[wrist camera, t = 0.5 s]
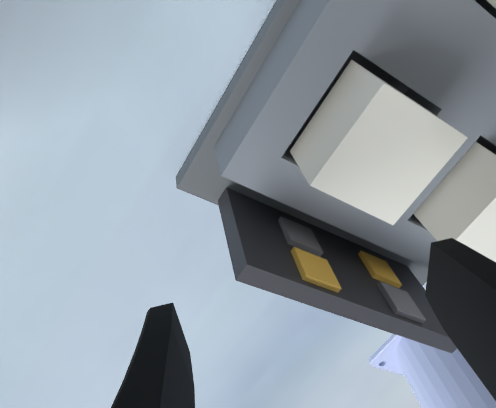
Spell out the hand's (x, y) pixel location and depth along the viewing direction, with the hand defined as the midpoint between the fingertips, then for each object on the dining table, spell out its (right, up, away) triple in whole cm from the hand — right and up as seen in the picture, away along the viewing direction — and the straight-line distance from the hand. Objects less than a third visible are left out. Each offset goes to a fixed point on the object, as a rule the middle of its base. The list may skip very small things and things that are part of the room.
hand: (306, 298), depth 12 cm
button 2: (+9, +3, +8) cm, 12 cm away
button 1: (+3, +6, +5) cm, 8 cm away
